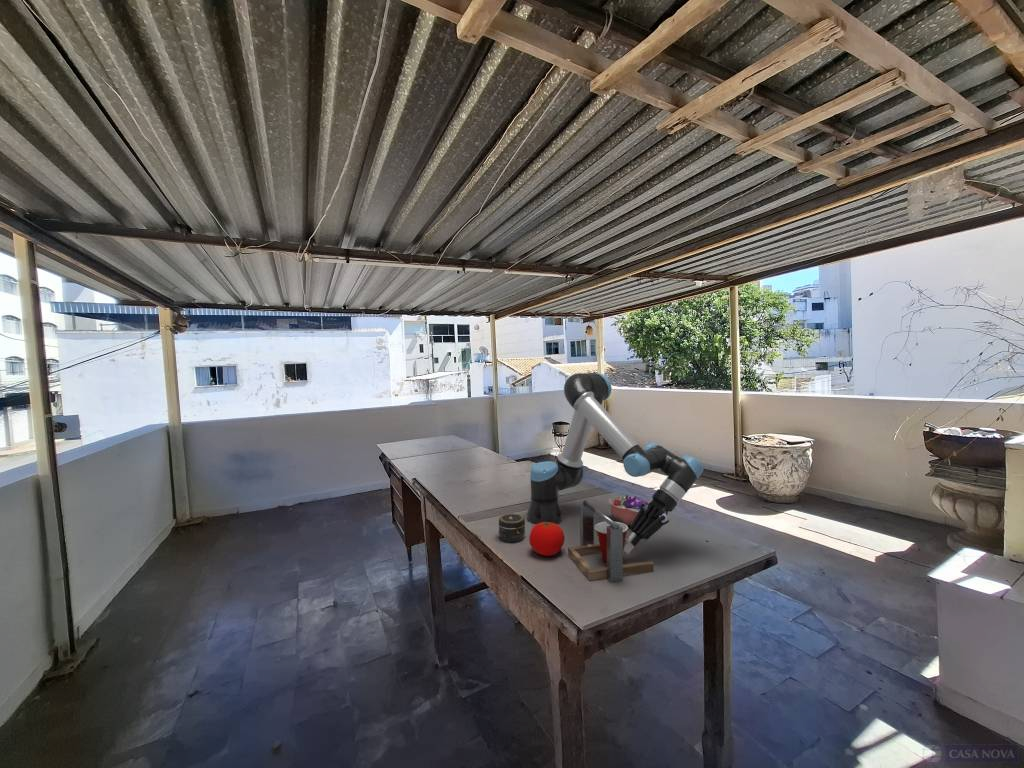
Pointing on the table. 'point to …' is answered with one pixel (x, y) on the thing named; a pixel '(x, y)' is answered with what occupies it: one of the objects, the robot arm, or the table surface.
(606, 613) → the table surface
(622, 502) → the cell model
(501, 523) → the jar
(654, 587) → the table surface
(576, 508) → the table surface
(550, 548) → the tomato
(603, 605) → the table surface
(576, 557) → the grey and wooden frame
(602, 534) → the plastic cup
